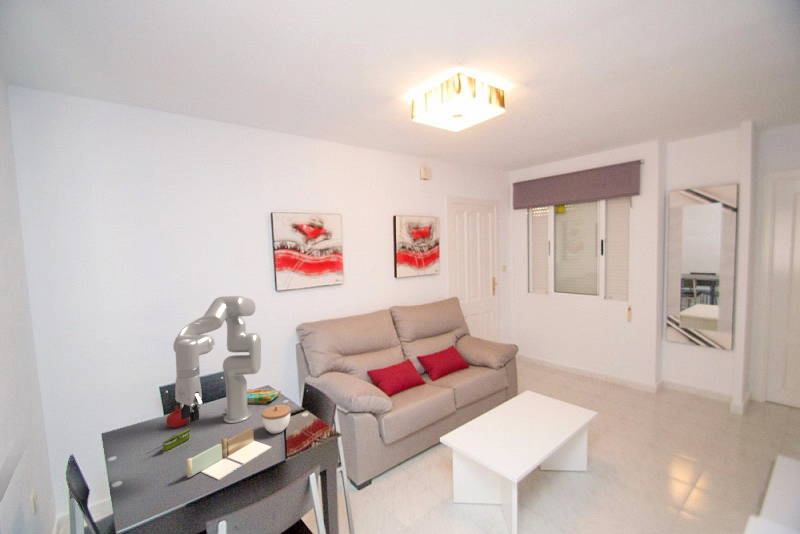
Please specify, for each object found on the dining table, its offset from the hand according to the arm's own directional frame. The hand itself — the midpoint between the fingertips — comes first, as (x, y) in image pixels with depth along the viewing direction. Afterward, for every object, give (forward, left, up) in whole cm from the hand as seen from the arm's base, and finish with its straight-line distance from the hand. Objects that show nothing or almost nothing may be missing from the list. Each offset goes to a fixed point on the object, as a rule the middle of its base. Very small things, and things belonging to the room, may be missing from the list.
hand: (190, 418), depth 134 cm
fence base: (+5, +16, -19) cm, 25 cm away
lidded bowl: (+6, +36, -20) cm, 41 cm away
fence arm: (+5, +2, -19) cm, 19 cm away
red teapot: (-42, +18, -20) cm, 50 cm away
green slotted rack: (-23, +3, -20) cm, 31 cm away
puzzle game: (-30, +56, -20) cm, 67 cm away
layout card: (+6, +12, -19) cm, 24 cm away
